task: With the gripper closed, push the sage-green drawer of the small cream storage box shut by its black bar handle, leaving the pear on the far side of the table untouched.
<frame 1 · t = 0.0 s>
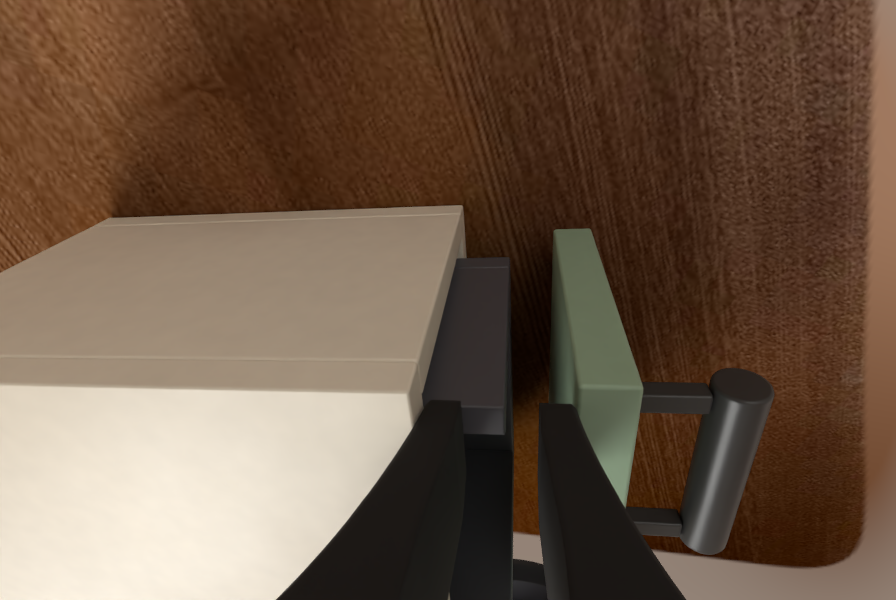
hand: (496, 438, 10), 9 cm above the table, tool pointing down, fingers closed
storage box: (311, 343, 21), on the table
drawer: (455, 433, 16), point 5 cm above the table, slide at 3.0 cm
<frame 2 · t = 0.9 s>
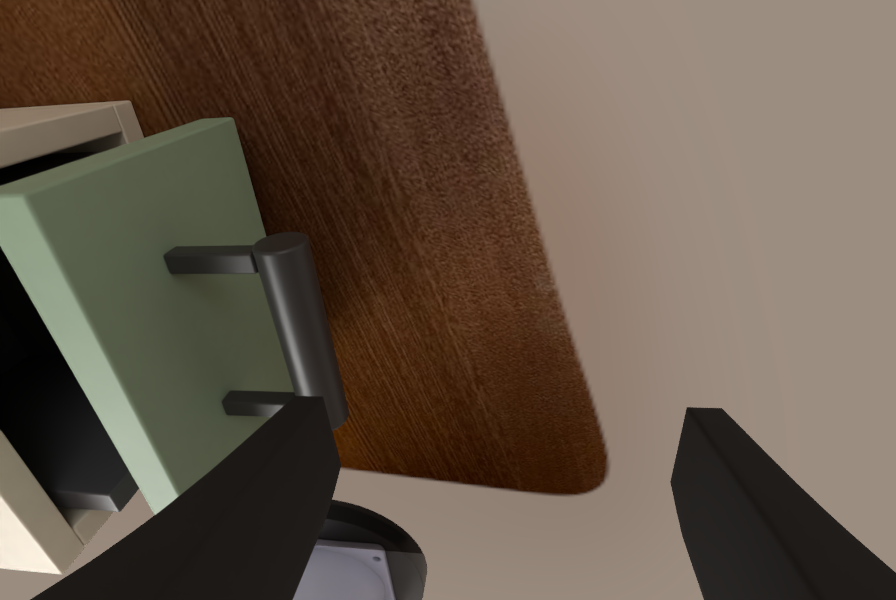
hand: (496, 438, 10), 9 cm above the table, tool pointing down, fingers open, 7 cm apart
storage box: (41, 256, 21), on the table
drawer: (96, 318, 16), point 5 cm above the table, slide at 3.0 cm
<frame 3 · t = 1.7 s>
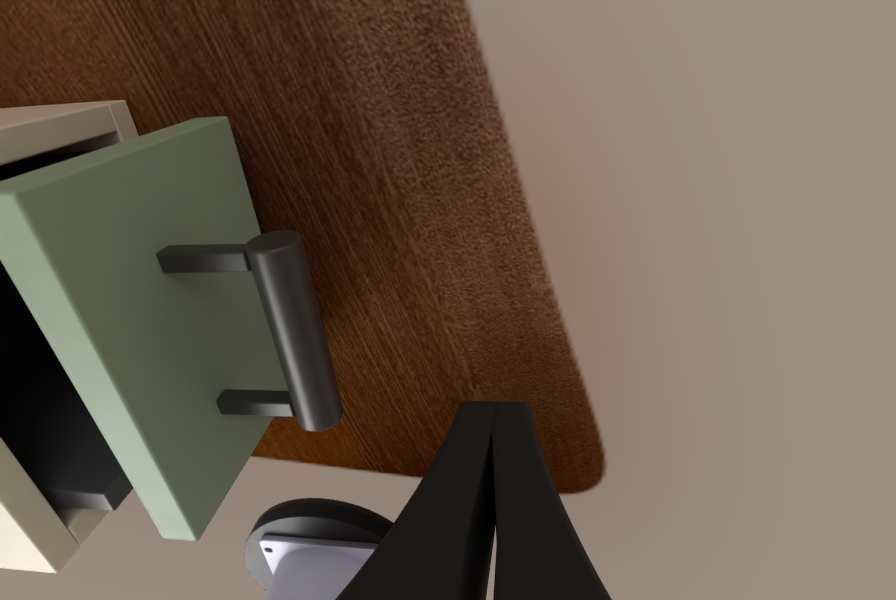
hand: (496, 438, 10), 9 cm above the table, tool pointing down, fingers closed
storage box: (38, 256, 21), on the table
drawer: (90, 317, 16), point 5 cm above the table, slide at 3.0 cm
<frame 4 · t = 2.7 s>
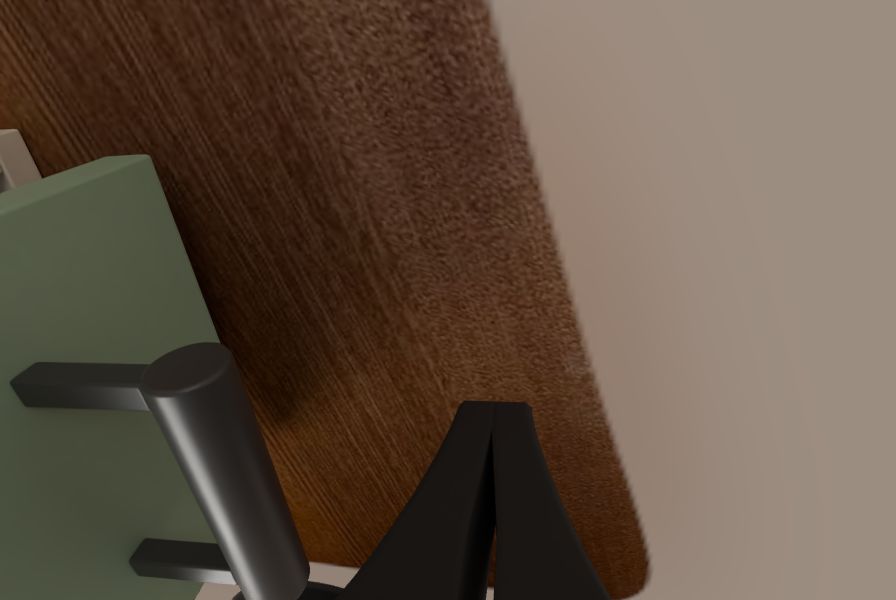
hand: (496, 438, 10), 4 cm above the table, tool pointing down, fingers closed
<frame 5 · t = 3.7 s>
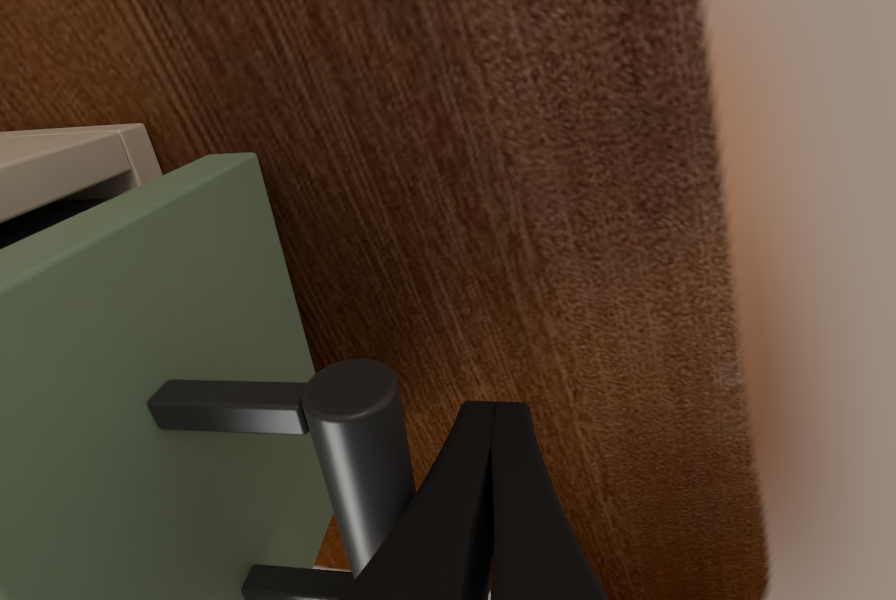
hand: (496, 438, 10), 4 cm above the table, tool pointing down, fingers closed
storage box: (22, 328, 16), on the table
drawer: (51, 455, 11), point 5 cm above the table, slide at 2.0 cm, touching gripper
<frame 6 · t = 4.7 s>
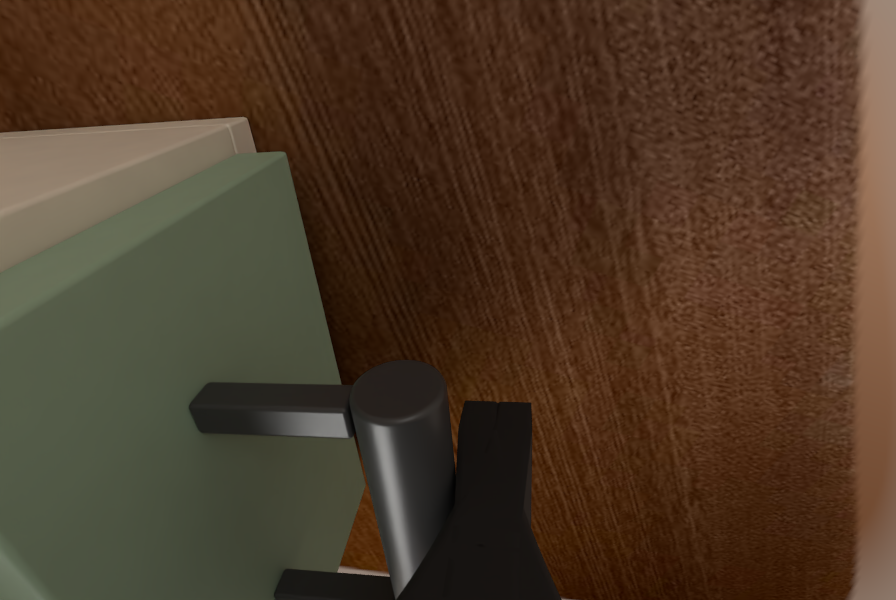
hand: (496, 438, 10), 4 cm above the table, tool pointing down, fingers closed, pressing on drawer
storage box: (94, 330, 15), on the table
drawer: (79, 458, 10), point 5 cm above the table, slide at 0.0 cm, touching storage box, gripper
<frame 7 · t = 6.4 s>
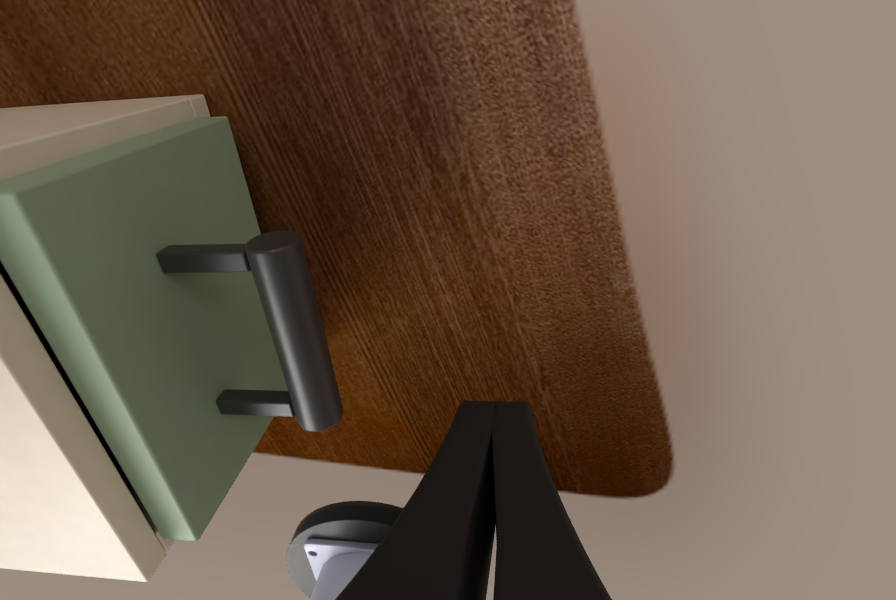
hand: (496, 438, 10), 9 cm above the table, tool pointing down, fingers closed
storage box: (99, 255, 21), on the table
drawer: (90, 317, 16), point 5 cm above the table, slide at 0.0 cm, touching storage box
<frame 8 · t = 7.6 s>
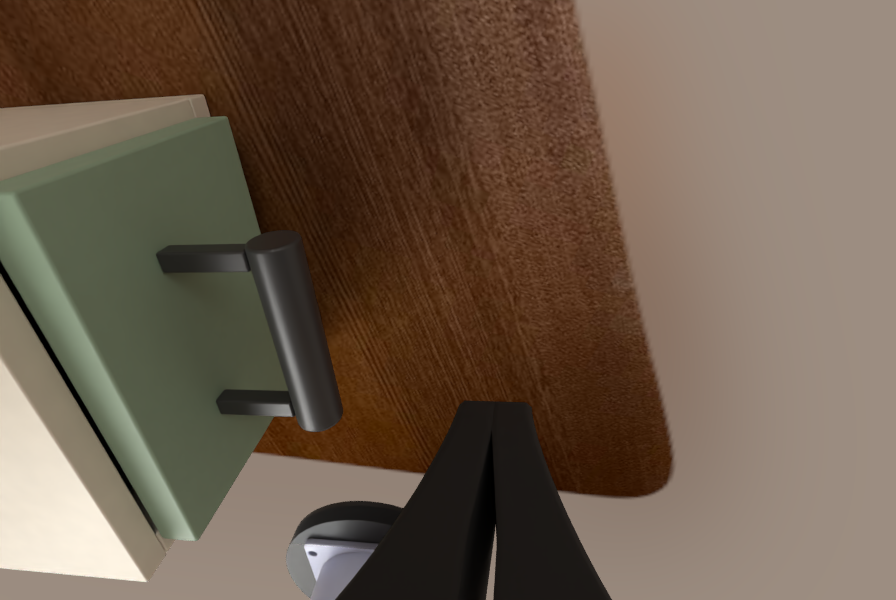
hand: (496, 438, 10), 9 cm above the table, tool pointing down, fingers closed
storage box: (99, 255, 21), on the table
drawer: (90, 317, 16), point 5 cm above the table, slide at 0.0 cm, touching storage box
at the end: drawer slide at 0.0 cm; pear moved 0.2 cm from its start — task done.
